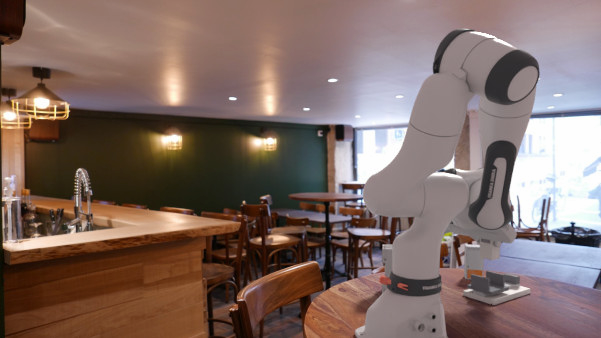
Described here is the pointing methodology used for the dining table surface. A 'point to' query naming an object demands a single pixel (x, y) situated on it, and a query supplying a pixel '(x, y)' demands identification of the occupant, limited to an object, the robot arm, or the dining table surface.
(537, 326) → the dining table surface
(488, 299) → the board
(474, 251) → the skincare box
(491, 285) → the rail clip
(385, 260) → the circuit breaker
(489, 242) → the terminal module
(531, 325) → the dining table surface
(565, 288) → the dining table surface
